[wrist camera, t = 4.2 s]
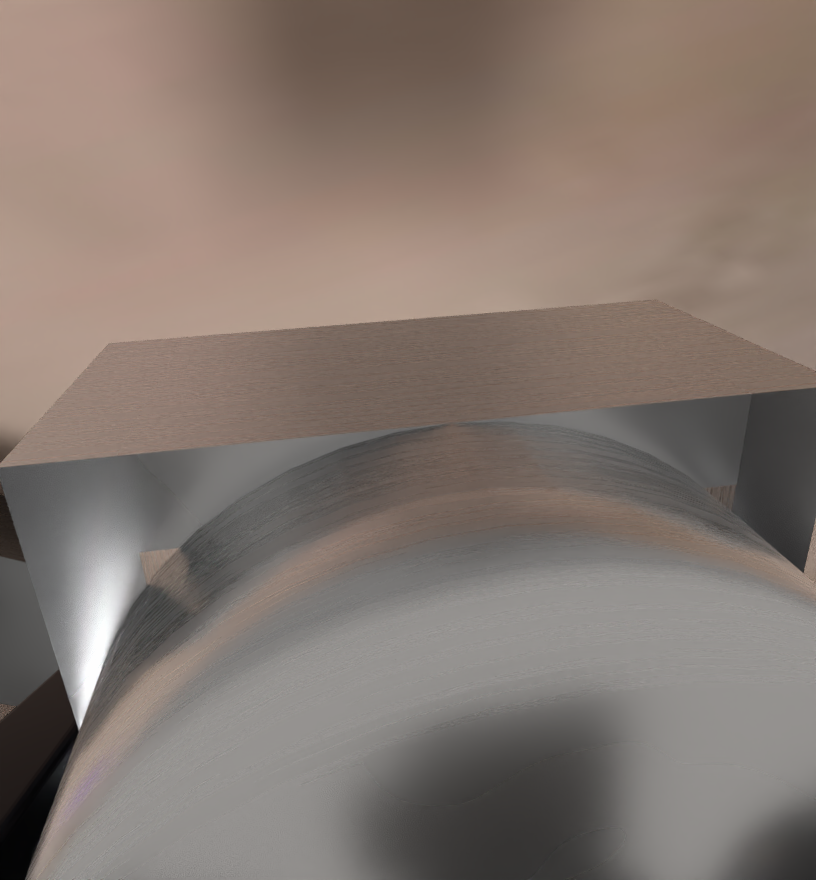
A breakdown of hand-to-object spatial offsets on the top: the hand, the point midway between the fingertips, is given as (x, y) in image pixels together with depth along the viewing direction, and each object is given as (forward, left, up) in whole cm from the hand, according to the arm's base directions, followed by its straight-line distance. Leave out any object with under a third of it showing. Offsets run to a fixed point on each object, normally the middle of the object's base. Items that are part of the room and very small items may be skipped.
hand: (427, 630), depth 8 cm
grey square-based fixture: (0, 0, -2) cm, 2 cm away
